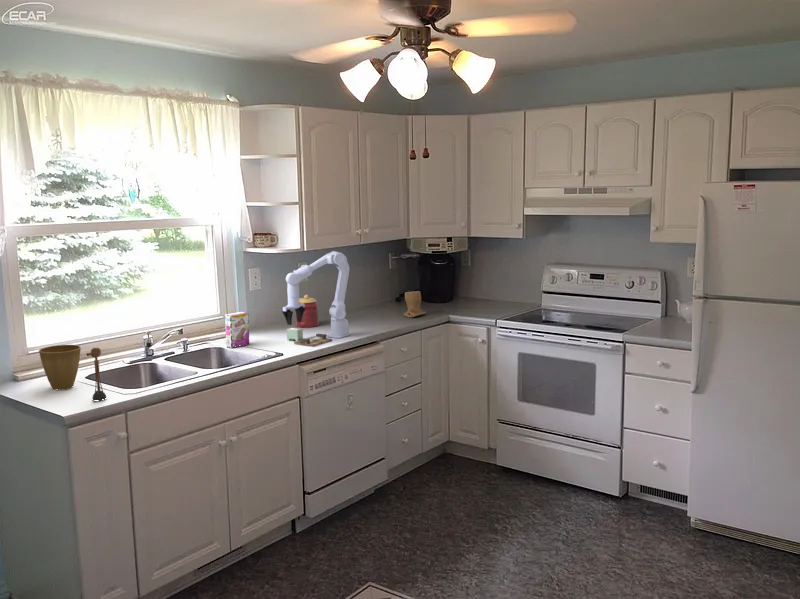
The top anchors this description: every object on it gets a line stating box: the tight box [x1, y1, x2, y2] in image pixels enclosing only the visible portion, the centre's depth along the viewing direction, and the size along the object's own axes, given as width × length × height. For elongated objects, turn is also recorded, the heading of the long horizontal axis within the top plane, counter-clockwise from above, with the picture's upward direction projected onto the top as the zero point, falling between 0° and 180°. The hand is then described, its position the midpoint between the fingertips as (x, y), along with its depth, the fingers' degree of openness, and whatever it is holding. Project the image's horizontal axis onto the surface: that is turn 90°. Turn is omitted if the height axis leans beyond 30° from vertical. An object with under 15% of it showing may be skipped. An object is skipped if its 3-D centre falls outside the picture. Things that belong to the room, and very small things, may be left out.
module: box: [286, 327, 304, 342], centre depth 363 cm, size 4×7×6 cm, turn 58°
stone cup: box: [403, 290, 426, 318], centre depth 426 cm, size 15×12×15 cm
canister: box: [294, 294, 320, 328], centre depth 401 cm, size 13×13×18 cm
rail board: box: [293, 333, 333, 347], centre depth 358 cm, size 15×12×3 cm
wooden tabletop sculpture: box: [86, 346, 107, 401], centre depth 264 cm, size 6×5×20 cm
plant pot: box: [38, 344, 82, 391], centre depth 282 cm, size 15×15×16 cm
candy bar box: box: [224, 311, 250, 349], centre depth 352 cm, size 11×5×16 cm, turn 141°
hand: (294, 323), depth 362 cm, fingers open, 7 cm apart
